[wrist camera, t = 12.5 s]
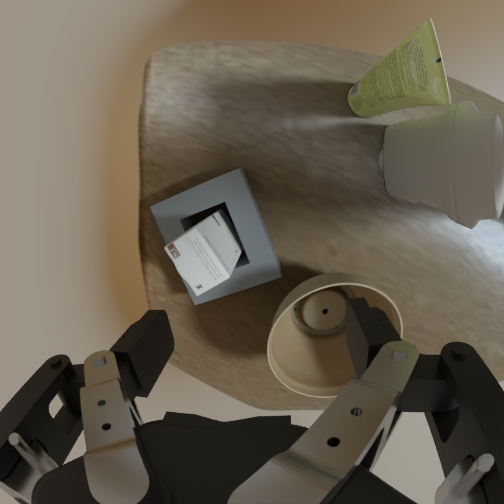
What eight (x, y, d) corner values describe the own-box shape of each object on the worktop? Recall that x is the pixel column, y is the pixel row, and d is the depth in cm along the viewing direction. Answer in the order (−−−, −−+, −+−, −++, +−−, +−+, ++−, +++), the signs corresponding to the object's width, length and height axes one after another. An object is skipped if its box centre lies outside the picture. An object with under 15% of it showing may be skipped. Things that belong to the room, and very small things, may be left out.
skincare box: (246, 244, 39) (235, 279, 27) (218, 261, 40) (197, 300, 28) (220, 205, 37) (198, 224, 26) (193, 223, 38) (161, 248, 27)
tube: (391, 107, 32) (478, 72, 13) (368, 129, 33) (451, 104, 14) (362, 76, 31) (430, 16, 12) (338, 98, 32) (397, 43, 13)
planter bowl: (394, 276, 39) (426, 310, 28) (342, 360, 43) (356, 407, 33) (296, 234, 38) (305, 260, 27) (251, 331, 42) (245, 378, 32)
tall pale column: (404, 199, 35) (515, 241, 14) (378, 199, 36) (482, 241, 15) (402, 124, 32) (514, 100, 11) (375, 121, 33) (479, 86, 12)
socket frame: (242, 167, 36) (239, 168, 32) (280, 266, 39) (281, 277, 35) (161, 202, 38) (149, 206, 34) (201, 292, 41) (195, 305, 37)
